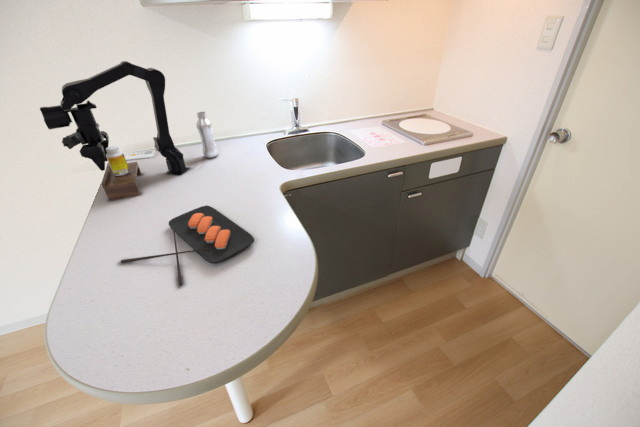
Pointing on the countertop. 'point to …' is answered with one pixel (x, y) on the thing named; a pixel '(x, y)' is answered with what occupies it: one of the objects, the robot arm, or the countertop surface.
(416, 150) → the countertop surface
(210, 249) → the sushi plate
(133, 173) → the shelf
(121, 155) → the supplement bottle
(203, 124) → the plastic bottle
